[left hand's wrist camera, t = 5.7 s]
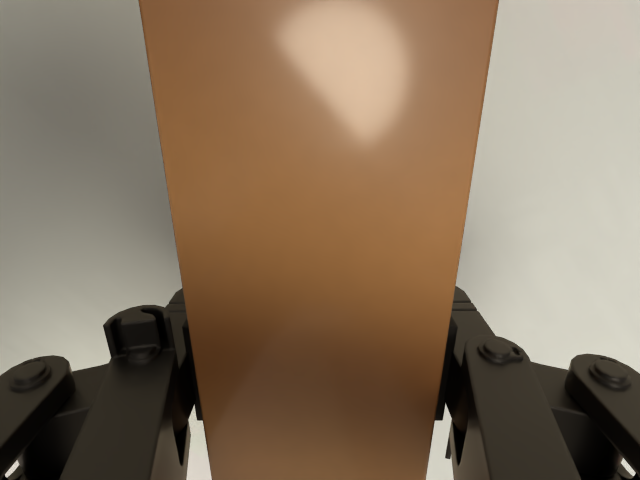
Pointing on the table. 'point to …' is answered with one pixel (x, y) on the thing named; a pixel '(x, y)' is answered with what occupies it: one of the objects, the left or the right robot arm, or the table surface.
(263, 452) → the beam
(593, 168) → the table surface
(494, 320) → the table surface
